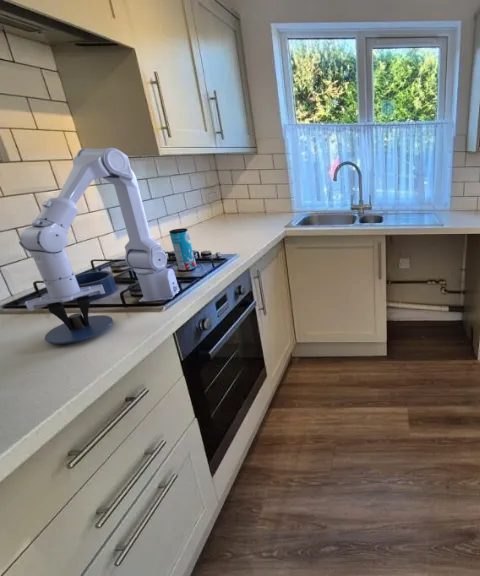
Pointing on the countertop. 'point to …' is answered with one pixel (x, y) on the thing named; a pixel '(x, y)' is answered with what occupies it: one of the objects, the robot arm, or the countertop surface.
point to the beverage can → (183, 249)
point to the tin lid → (78, 329)
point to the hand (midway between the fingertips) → (79, 326)
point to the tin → (97, 282)
